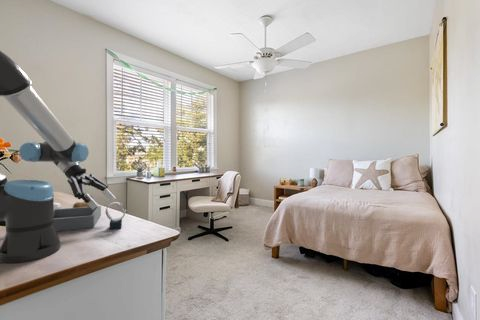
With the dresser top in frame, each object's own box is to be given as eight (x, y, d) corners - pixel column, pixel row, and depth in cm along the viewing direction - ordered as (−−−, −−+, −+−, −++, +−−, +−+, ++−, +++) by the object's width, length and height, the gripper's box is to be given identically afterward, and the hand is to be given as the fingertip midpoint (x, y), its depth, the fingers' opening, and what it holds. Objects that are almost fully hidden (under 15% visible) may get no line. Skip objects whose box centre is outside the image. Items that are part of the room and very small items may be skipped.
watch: (126, 228, 103) (126, 203, 102) (104, 230, 100) (104, 204, 99) (126, 224, 108) (126, 200, 107) (106, 226, 105) (106, 201, 104)
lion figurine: (86, 210, 132) (86, 194, 132) (96, 210, 132) (96, 194, 132) (67, 217, 117) (66, 199, 117) (77, 217, 117) (77, 199, 117)
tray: (93, 227, 103) (93, 216, 103) (36, 233, 95) (35, 220, 95) (100, 215, 121) (100, 206, 121) (53, 219, 114) (52, 209, 114)
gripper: (85, 171, 118) (114, 202, 119) (42, 177, 93) (79, 217, 94) (96, 161, 118) (125, 192, 118) (55, 164, 93) (92, 204, 93)
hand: (105, 203), depth 106 cm, fingers open, 13 cm apart
